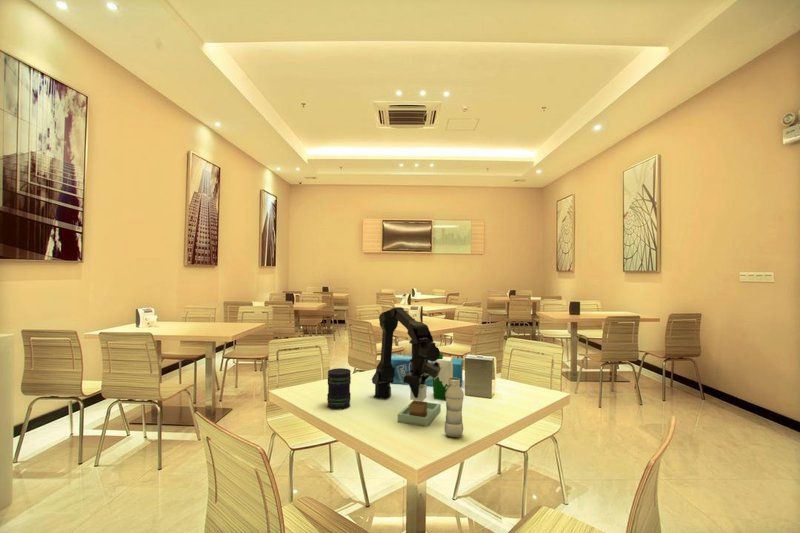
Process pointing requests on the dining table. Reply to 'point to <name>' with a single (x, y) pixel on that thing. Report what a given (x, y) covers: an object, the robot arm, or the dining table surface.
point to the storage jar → (339, 389)
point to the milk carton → (442, 377)
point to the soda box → (404, 366)
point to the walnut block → (418, 408)
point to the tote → (432, 412)
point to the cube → (421, 393)
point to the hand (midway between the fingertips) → (418, 395)
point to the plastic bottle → (454, 408)
